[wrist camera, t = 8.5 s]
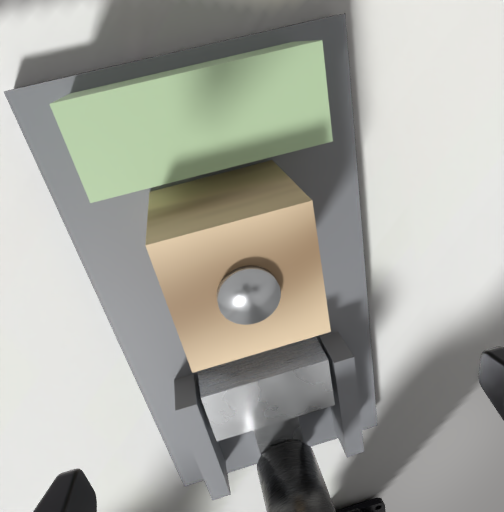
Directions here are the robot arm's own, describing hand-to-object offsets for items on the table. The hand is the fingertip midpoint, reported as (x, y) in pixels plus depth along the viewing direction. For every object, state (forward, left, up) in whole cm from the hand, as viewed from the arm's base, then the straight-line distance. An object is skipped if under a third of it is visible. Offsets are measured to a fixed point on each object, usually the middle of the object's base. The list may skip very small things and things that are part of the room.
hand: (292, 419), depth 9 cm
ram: (-11, 0, -10) cm, 14 cm away
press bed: (-4, 0, -11) cm, 12 cm away
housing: (0, 0, -10) cm, 10 cm away
